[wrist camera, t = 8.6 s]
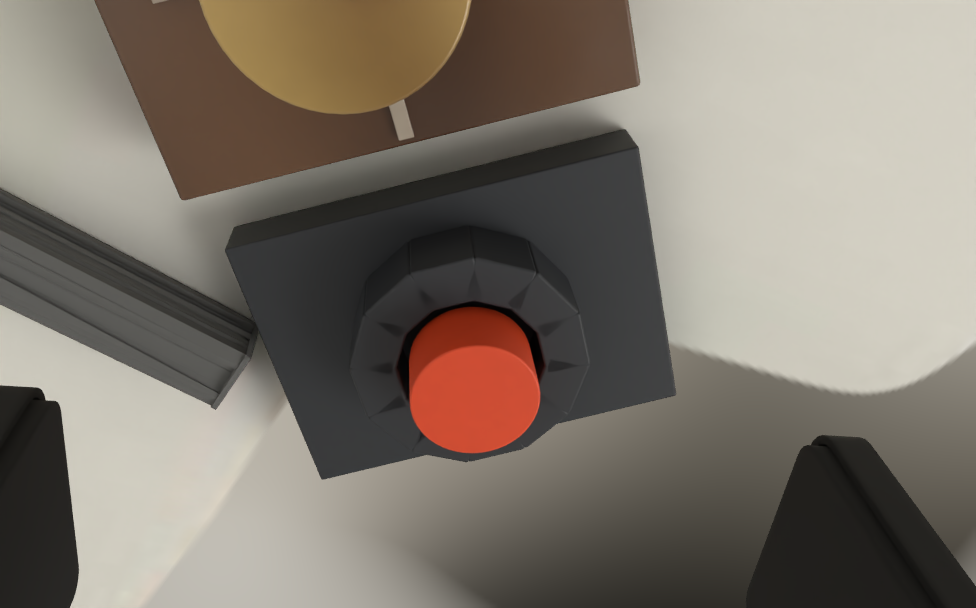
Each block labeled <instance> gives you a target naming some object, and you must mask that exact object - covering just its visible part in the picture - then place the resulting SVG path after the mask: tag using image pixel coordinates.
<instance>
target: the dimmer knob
mask: <svg viewBox="0 0 976 608" xmlns="http://www.w3.org/2000/svg"><path fill="white" fill-rule="evenodd" d="M199 2H200V5H201V8H202V11H203V14H204V17H205V19H206V21H207V23H208V25H209V28H210V30H211V32H212V34H213V35H214V37H215V39H216V40H217V42H218V43H219V45H220V47H221V48H222V50H223V51H224V52H225V54H226V55H227V56H228V57H229V59H230V60H231V61H232V62H233V64H234V65H235V66H236V67H237V68H238V69H239V70H240V71H241V72H242V73H243V74H244V75H245V76H246V77H248V78H249V79H250V80H251V81H253V82H254V83H255V84H256V85H258V86H259V87H260V88H262V89H263V90H265V91H267V92H268V93H270V94H271V95H273V96H275V97H276V98H279V99H281V100H283V101H285V102H287V103H289V104H292V105H294V106H298V107H301V108H304V109H307V110H311V111H316V112H321V113H328V114H357V113H364V112H369V111H374V110H378V109H381V108H384V107H387V106H390V105H393V104H395V103H397V102H399V101H401V100H403V99H405V98H407V97H409V96H410V95H412V94H413V93H415V92H416V91H418V90H419V89H421V88H422V87H423V86H424V85H425V84H426V83H427V82H429V81H430V80H431V79H432V78H433V77H434V76H435V75H436V74H437V73H438V72H439V70H440V69H441V68H442V67H443V66H444V65H445V63H446V62H447V60H448V59H449V57H450V56H451V54H452V53H453V51H454V50H455V48H456V46H457V44H458V42H459V40H460V38H461V36H462V33H463V30H464V27H465V24H466V22H467V19H468V15H469V10H470V5H471V0H199Z"/></svg>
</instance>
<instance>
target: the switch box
mask: <svg viewBox="0 0 976 608" xmlns="http://www.w3.org/2000/svg"><path fill="white" fill-rule="evenodd" d="M225 252H226V254H227V257H228V259H229V261H230V264H231V266H232V268H233V271H234V273H235V276H236V278H237V280H238V283H239V285H240V287H241V290H242V292H243V295H244V297H245V299H246V302H247V304H248V306H249V309H250V311H251V313H252V316H253V318H254V321H255V323H256V325H257V328H258V330H259V332H260V335H261V337H262V340H263V342H264V344H265V347H266V349H267V351H268V354H269V356H270V358H271V361H272V363H273V366H274V368H275V370H276V373H277V375H278V377H279V380H280V382H281V385H282V387H283V389H284V392H285V394H286V396H287V399H288V401H289V403H290V406H291V408H292V411H293V413H294V415H295V417H296V420H297V422H298V425H299V427H300V430H301V432H302V434H303V436H304V439H305V441H306V444H307V446H308V448H309V451H310V453H311V455H312V458H313V460H314V463H315V465H316V467H317V470H318V472H319V475H320V477H321V479H327V478H332V477H336V476H339V475H344V474H348V473H352V472H357V471H361V470H365V469H369V468H373V467H378V466H381V465H386V464H390V463H394V462H399V461H403V460H407V459H411V458H415V457H420V456H424V455H432V456H437V457H442V458H448V459H452V460H458V461H463V462H468V461H475V460H479V459H483V458H487V457H491V456H496V455H500V454H504V453H508V452H512V451H516V450H521V449H523V448H524V447H528V446H529V445H530V444H532V443H533V442H534V441H535V440H537V439H538V438H539V437H541V436H542V435H543V434H544V433H546V432H547V431H548V430H549V429H551V428H552V427H553V426H554V425H556V424H558V423H562V422H566V421H571V420H575V419H579V418H583V417H587V416H591V415H596V414H600V413H604V412H608V411H612V410H616V409H621V408H625V407H629V406H633V405H638V404H642V403H646V402H650V401H654V400H658V399H662V398H667V397H671V396H675V395H676V390H675V383H674V376H673V370H672V363H671V357H670V350H669V344H668V337H667V330H666V324H665V317H664V311H663V304H662V298H661V291H660V285H659V278H658V272H657V265H656V259H655V252H654V245H653V239H652V232H651V226H650V219H649V213H648V206H647V200H646V193H645V187H644V180H643V173H642V167H641V160H640V154H639V148H638V146H637V145H636V143H635V142H634V141H633V139H632V138H631V136H630V135H629V134H628V132H627V131H626V130H620V131H616V132H612V133H608V134H604V135H600V136H596V137H592V138H588V139H584V140H580V141H576V142H572V143H568V144H564V145H560V146H556V147H552V148H548V149H544V150H540V151H536V152H532V153H528V154H524V155H520V156H516V157H512V158H508V159H504V160H500V161H496V162H492V163H488V164H484V165H480V166H476V167H472V168H468V169H464V170H460V171H456V172H452V173H448V174H444V175H440V176H436V177H432V178H428V179H424V180H420V181H416V182H412V183H408V184H404V185H400V186H396V187H392V188H388V189H384V190H380V191H376V192H372V193H368V194H364V195H360V196H356V197H352V198H348V199H344V200H340V201H336V202H332V203H328V204H324V205H320V206H316V207H312V208H308V209H304V210H300V211H296V212H292V213H288V214H285V215H281V216H277V217H273V218H269V219H265V220H261V221H257V222H253V223H249V224H245V225H241V226H237V227H234V229H233V231H232V234H231V236H230V239H229V241H228V244H227V246H226V249H225ZM462 307H483V308H488V309H492V310H495V311H498V312H500V313H502V314H504V315H506V316H507V317H509V318H510V319H512V320H513V321H514V322H515V323H516V324H517V325H518V326H519V327H520V328H521V329H522V331H523V332H524V333H525V335H526V337H527V339H528V342H529V345H530V349H531V353H532V358H533V362H534V366H535V370H536V374H537V378H538V383H539V387H540V404H539V408H538V412H537V414H536V416H535V418H534V420H533V422H532V423H531V425H530V426H529V428H528V429H527V430H526V431H525V432H524V433H523V434H522V435H521V436H520V437H518V438H517V439H516V440H514V441H513V442H511V443H509V444H507V445H506V446H503V447H501V448H498V449H495V450H492V451H487V452H482V453H462V452H456V451H452V450H449V449H446V448H443V447H441V446H439V445H437V444H435V443H434V442H432V441H431V440H429V439H428V438H427V437H426V436H425V435H424V434H423V433H422V432H421V431H420V429H419V428H418V427H417V425H416V423H415V422H414V419H413V417H412V414H411V410H410V392H409V355H410V350H411V347H412V344H413V341H414V340H415V338H416V336H417V334H418V333H419V332H420V330H421V329H422V328H423V327H424V326H425V325H426V324H427V323H428V322H430V321H431V320H432V319H433V318H435V317H437V316H439V315H440V314H442V313H445V312H447V311H450V310H453V309H457V308H462Z"/></svg>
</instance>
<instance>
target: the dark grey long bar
mask: <svg viewBox="0 0 976 608" xmlns="http://www.w3.org/2000/svg"><path fill="white" fill-rule="evenodd" d="M0 305H2V306H5V307H7V308H9V309H11V310H13V311H15V312H17V313H19V314H21V315H23V316H25V317H28V318H30V319H32V320H34V321H36V322H38V323H40V324H42V325H44V326H46V327H48V328H51V329H53V330H55V331H57V332H59V333H61V334H63V335H65V336H67V337H69V338H71V339H74V340H76V341H78V342H80V343H82V344H84V345H86V346H88V347H90V348H92V349H94V350H97V351H99V352H101V353H103V354H105V355H107V356H109V357H111V358H113V359H115V360H117V361H120V362H122V363H124V364H126V365H128V366H130V367H132V368H134V369H136V370H138V371H140V372H143V373H145V374H147V375H149V376H151V377H153V378H155V379H157V380H159V381H161V382H163V383H165V384H168V385H170V386H172V387H174V388H176V389H178V390H180V391H182V392H184V393H186V394H188V395H191V396H193V397H195V398H197V399H199V400H201V401H203V402H205V403H207V404H209V405H211V408H213V409H215V410H216V409H217V407H218V406H219V405H220V403H221V402H222V400H223V399H224V397H225V396H226V394H227V393H228V391H229V390H230V388H231V387H232V386H233V384H234V383H235V381H236V380H237V378H238V377H239V375H240V374H241V372H242V371H243V369H244V368H245V367H246V365H247V364H248V362H249V361H250V359H251V356H252V352H253V349H254V345H255V342H256V338H257V334H258V331H259V330H258V328H257V325H256V323H255V322H253V321H251V320H249V319H248V318H246V317H244V316H242V315H240V314H238V313H236V312H234V311H232V310H230V309H228V308H227V307H225V306H223V305H221V304H219V303H217V302H215V301H213V300H211V299H209V298H208V297H206V296H204V295H202V294H200V293H198V292H196V291H194V290H192V289H190V288H188V287H187V286H185V285H183V284H181V283H179V282H177V281H175V280H173V279H171V278H169V277H167V276H166V275H164V274H162V273H160V272H158V271H156V270H154V269H152V268H150V267H148V266H146V265H145V264H143V263H141V262H139V261H137V260H135V259H133V258H131V257H129V256H127V255H126V254H124V253H122V252H120V251H118V250H116V249H114V248H112V247H110V246H108V245H106V244H105V243H103V242H101V241H99V240H97V239H95V238H93V237H91V236H89V235H87V234H85V233H84V232H82V231H80V230H78V229H76V228H74V227H72V226H70V225H68V224H66V223H65V222H63V221H61V220H59V219H57V218H55V217H53V216H51V215H49V214H47V213H45V212H44V211H42V210H40V209H38V208H36V207H34V206H32V205H30V204H28V203H26V202H24V201H23V200H21V199H19V198H17V197H15V196H13V195H11V194H9V193H7V192H5V191H4V190H2V189H0ZM251 318H252V317H251Z"/></svg>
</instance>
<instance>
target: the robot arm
mask: <svg viewBox="0 0 976 608" xmlns="http://www.w3.org/2000/svg"><path fill="white" fill-rule="evenodd" d="M78 574H79V565H78V556H77V547H76V539H75V530H74V521H73V512H72V504H71V495H70V486H69V477H68V469H67V460H66V451H65V442H64V434H63V425H62V416H61V410H60V406H59V404H58V402H56V401H46V400H45V396H44V393H43V392H42V390H41V389H39V388H33V387H17V386H0V608H70V606H71V603H72V601H73V598H74V595H75V592H76V588H77V583H78ZM746 605H747V608H976V586H975V585H974V583H973V582H972V581H971V579H970V578H969V577H968V575H967V574H966V572H965V571H964V570H963V568H962V567H961V566H960V564H959V563H958V562H957V560H956V559H955V558H954V556H953V555H952V554H951V552H950V551H949V550H948V548H947V547H946V545H945V544H944V543H943V541H942V540H941V539H940V537H939V536H938V535H937V533H936V532H935V531H934V529H933V528H932V527H931V525H930V524H929V522H928V521H927V520H926V519H925V517H924V516H923V514H922V513H921V512H920V510H919V509H918V508H917V506H916V505H915V504H914V502H913V501H912V500H911V498H910V497H909V495H908V494H907V493H906V491H905V490H904V489H903V487H902V486H901V485H900V483H899V482H898V481H897V479H896V478H895V477H894V476H893V474H892V473H891V471H890V470H889V468H888V467H887V466H886V465H885V463H884V462H883V460H882V459H881V458H880V456H879V455H878V454H877V452H876V451H875V450H874V448H873V447H872V446H871V444H870V443H869V442H868V441H866V440H865V439H863V438H860V437H844V436H827V435H822V436H818V437H817V438H816V439H815V440H814V441H813V442H812V444H811V445H807V446H804V447H803V448H802V449H801V450H800V452H799V454H798V456H797V459H796V462H795V464H794V467H793V470H792V473H791V475H790V478H789V480H788V483H787V486H786V489H785V491H784V494H783V497H782V499H781V502H780V505H779V507H778V510H777V513H776V515H775V518H774V521H773V523H772V526H771V529H770V531H769V534H768V537H767V540H766V542H765V545H764V548H763V550H762V553H761V555H760V558H759V561H758V564H757V566H756V569H755V572H754V574H753V577H752V580H751V582H750V585H749V588H748V591H747V598H746Z"/></svg>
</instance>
